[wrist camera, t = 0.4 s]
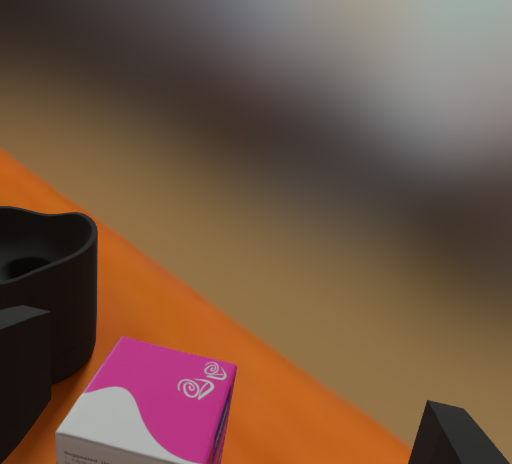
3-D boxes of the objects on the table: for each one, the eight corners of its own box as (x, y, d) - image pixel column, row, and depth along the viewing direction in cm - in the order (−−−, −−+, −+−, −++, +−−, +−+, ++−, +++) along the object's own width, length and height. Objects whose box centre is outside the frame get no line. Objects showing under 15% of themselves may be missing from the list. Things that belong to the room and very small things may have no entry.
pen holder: (57, 297, 42) (48, 192, 37) (126, 350, 37) (126, 238, 32) (-61, 347, 35) (-90, 227, 30) (5, 421, 30) (-18, 292, 26)
